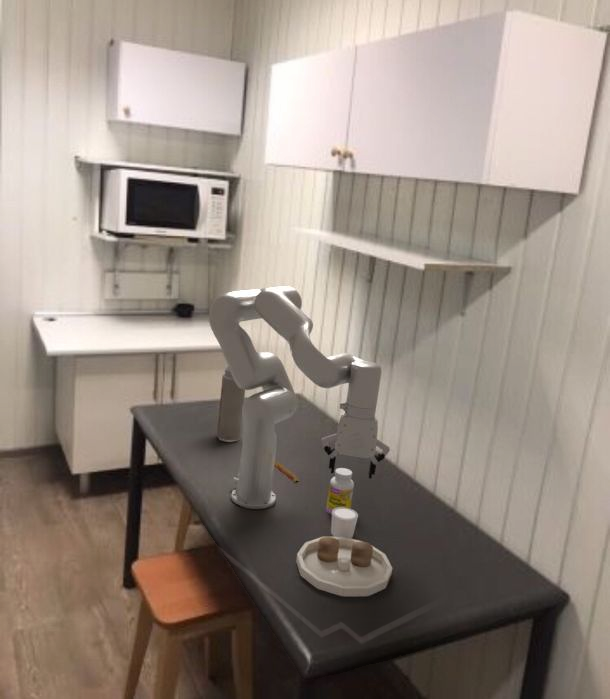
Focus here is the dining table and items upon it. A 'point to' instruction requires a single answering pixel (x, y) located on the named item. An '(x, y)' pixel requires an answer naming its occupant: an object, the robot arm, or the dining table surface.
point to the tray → (343, 570)
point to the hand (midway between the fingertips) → (351, 473)
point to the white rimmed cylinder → (343, 522)
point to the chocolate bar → (285, 472)
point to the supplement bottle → (340, 490)
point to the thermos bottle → (230, 408)
